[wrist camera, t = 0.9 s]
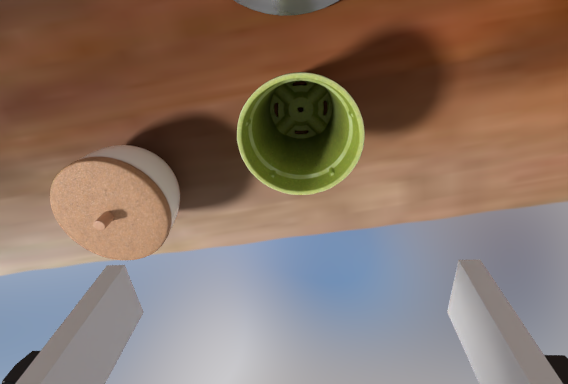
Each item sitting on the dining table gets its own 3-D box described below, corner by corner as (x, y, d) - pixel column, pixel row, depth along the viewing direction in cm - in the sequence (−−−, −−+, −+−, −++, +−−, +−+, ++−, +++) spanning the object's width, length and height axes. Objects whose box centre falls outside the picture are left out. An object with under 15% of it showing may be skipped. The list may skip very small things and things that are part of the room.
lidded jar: (203, 151, 35) (172, 196, 27) (182, 229, 40) (150, 286, 32) (100, 114, 34) (35, 149, 26) (92, 199, 39) (35, 251, 31)
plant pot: (351, 51, 30) (366, 67, 22) (351, 150, 34) (363, 192, 27) (246, 60, 30) (226, 79, 23) (259, 156, 35) (246, 198, 27)
